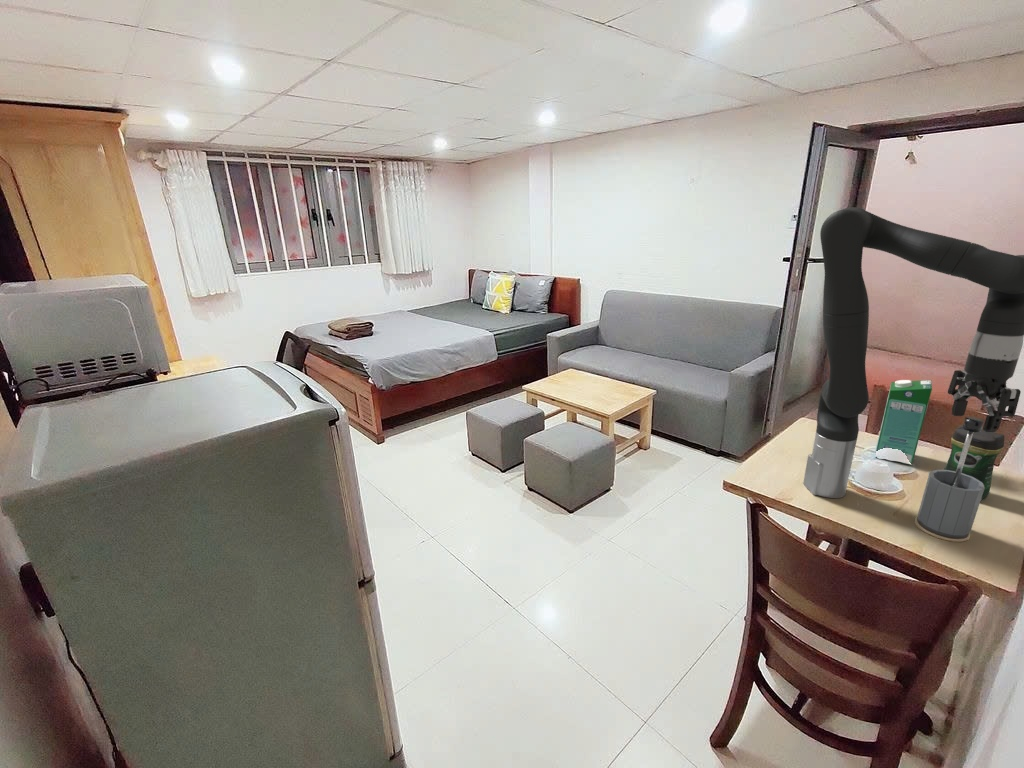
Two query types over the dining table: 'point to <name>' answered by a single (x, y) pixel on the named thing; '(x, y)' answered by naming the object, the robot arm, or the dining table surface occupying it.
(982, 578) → the dining table surface
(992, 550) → the dining table surface
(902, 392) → the milk carton
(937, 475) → the press carafe
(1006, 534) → the dining table surface
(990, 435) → the coffee jar
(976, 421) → the plunger
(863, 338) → the robot arm
